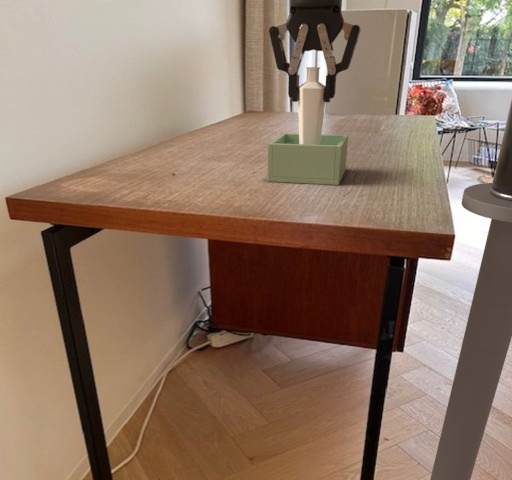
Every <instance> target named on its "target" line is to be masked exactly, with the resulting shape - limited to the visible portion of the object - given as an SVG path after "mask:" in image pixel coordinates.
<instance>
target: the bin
mask: <svg viewBox="0 0 512 480" xmlns="http://www.w3.org/2000/svg"><path fill="white" fill-rule="evenodd" d="M348 143H349V135H348V134H321V142H320V145H309V144H299V133H285V132H284V133H281V134H280V135H278V136H277V137H276V138H274V139H272V140H271V141H269V142H268V143H267V174H266V175H267V182H270V183H272V182H273V183H289V184H291V183H292V184H293V183H294V184H311V185H312V184H313V185H328V186H329V185H332V186H339V184H340V183H341V181H342V178H343V176H344V174H345V172H346V169H347V156H348Z"/></svg>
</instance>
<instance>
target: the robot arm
mask: <svg viewBox="0 0 512 480" xmlns="http://www.w3.org/2000/svg"><path fill="white" fill-rule="evenodd" d="M342 7H343V0H289V13H288V14H289V15H288V17H287V19H286V22H285V23H282V24H279V25H277V26H275V25H271V26H269V29H268V33H269V38H270V43H271V47H272V52H273V55H274V61H275V64H276V69H277V70H279V71H282V72H284V73H285V74H287V76H288V80H287V81H288V83H287V87H288V89H287V95H288V98H291V102H293V103H294V102H295V103H298V87H299V86H300V74H299V70H300V67H301V64H302V61H303V59H304V56H305V53H306V52H311V51H316V52H322V54H323V55H322V56H323V58H324V61H325V66H326V70H327V75H326V76H325V85H324V86H325V103H331V100H332V99H334V98H335V95H336V88H337V76H338V74H339V73H341V72H343V71H346V70H348V69H349V68H350V65H351V63H352V60H353V56H354V54H355V53H354V52H355V49H356V46H357V43H358V40H359V38H360V35H361V31H362V27H360V25H358V24H351V23H349V22H345V19H344V17H343V13H342ZM342 31H343V33H344V35H343V37H344V40H345V41H347V42H346V45H345V48H344V52H343V55H342V57H341V61H340V62H338V63H337V60H336V55H335V51H334V46H333V43H334V41H335V40H336V39H337V38H338V36H339V35H340V33H341V32H342ZM287 32H288V33H289V35H290V37H291V38H292V40H293V42H294V43H295V45H294V47H293V51H292V54H291V60H290V62H288V61H287V57H286V52H285V48H284V47H285V46H284V43H283V42H284V41H285V40H286V38H287V37H286V34H287ZM498 153H499V154H498V158H497V162H496V167H495V171H494V175H493V178H492V183H493V184H492V186H491V189H490V194H491V195H493V196H495V197H497V198H500V199H503V200H507V201H512V100H511V101H510V106H509V109H508V114H507V119H506V122H505V127H504V132H503V136H502V140H501V144H500V149H499V152H498Z"/></svg>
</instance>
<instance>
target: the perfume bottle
mask: <svg viewBox="0 0 512 480" xmlns="http://www.w3.org/2000/svg"><path fill="white" fill-rule="evenodd" d="M305 68H306V81H305V82H304V83H302V84H301V85H300V84H299V87H298V101H297V106H298V107H297V109H298V110H297V111H298V134H299V144H309V145H320V142H321V135H322V132H323V125H324V124H323V123H324V115H325V107H326V102H325V86H326V85H324V84H323V83H322V82H320V81H319V80H320V69H321V67H319V66H318V67H317V66H308V67H307V66H306V67H305Z"/></svg>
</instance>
